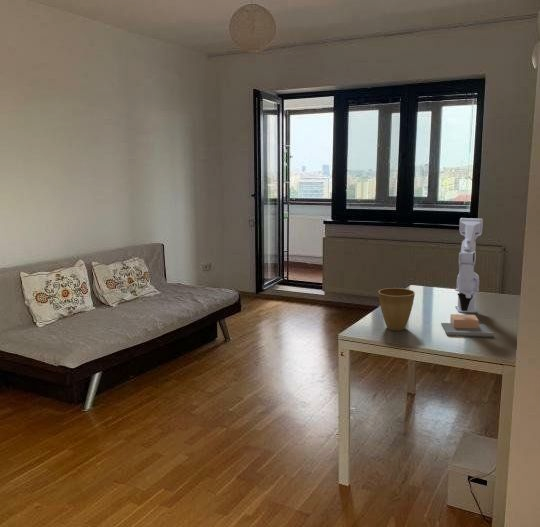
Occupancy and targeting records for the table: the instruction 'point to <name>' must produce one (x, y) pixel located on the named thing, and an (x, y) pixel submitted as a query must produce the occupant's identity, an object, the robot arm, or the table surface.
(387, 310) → the plant pot
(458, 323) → the terracotta block
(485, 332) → the mat
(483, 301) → the table surface
